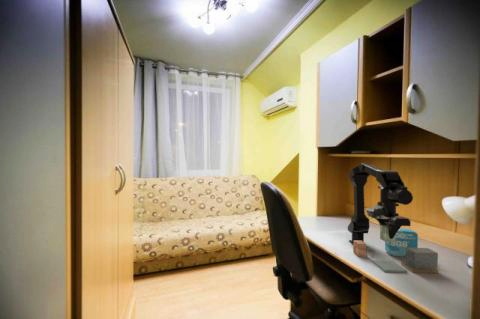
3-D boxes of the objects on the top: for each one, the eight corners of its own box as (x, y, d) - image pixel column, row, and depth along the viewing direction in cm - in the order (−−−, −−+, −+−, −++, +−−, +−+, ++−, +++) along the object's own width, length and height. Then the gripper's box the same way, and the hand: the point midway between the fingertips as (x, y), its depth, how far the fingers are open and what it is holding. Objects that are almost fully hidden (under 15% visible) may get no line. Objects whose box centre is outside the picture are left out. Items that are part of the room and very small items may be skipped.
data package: (388, 255, 107) (389, 230, 107) (384, 251, 111) (385, 227, 111) (417, 258, 104) (418, 232, 104) (412, 254, 108) (412, 229, 108)
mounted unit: (401, 264, 97) (401, 245, 97) (424, 265, 97) (425, 246, 97) (413, 272, 90) (413, 252, 90) (438, 273, 90) (439, 253, 90)
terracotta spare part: (353, 252, 109) (353, 240, 109) (361, 252, 109) (361, 240, 109) (357, 256, 105) (357, 243, 105) (366, 256, 105) (366, 243, 105)
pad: (371, 261, 99) (371, 259, 99) (392, 262, 99) (392, 260, 99) (384, 272, 90) (384, 270, 90) (407, 272, 90) (407, 270, 90)
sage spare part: (380, 238, 98) (380, 225, 98) (389, 239, 98) (389, 225, 98) (385, 242, 94) (386, 227, 94) (395, 242, 94) (395, 227, 94)
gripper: (358, 196, 105) (357, 229, 105) (382, 204, 87) (382, 244, 86) (382, 197, 105) (381, 230, 105) (411, 204, 86) (411, 245, 86)
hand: (387, 236), depth 96 cm, fingers closed on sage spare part, 4 cm apart
